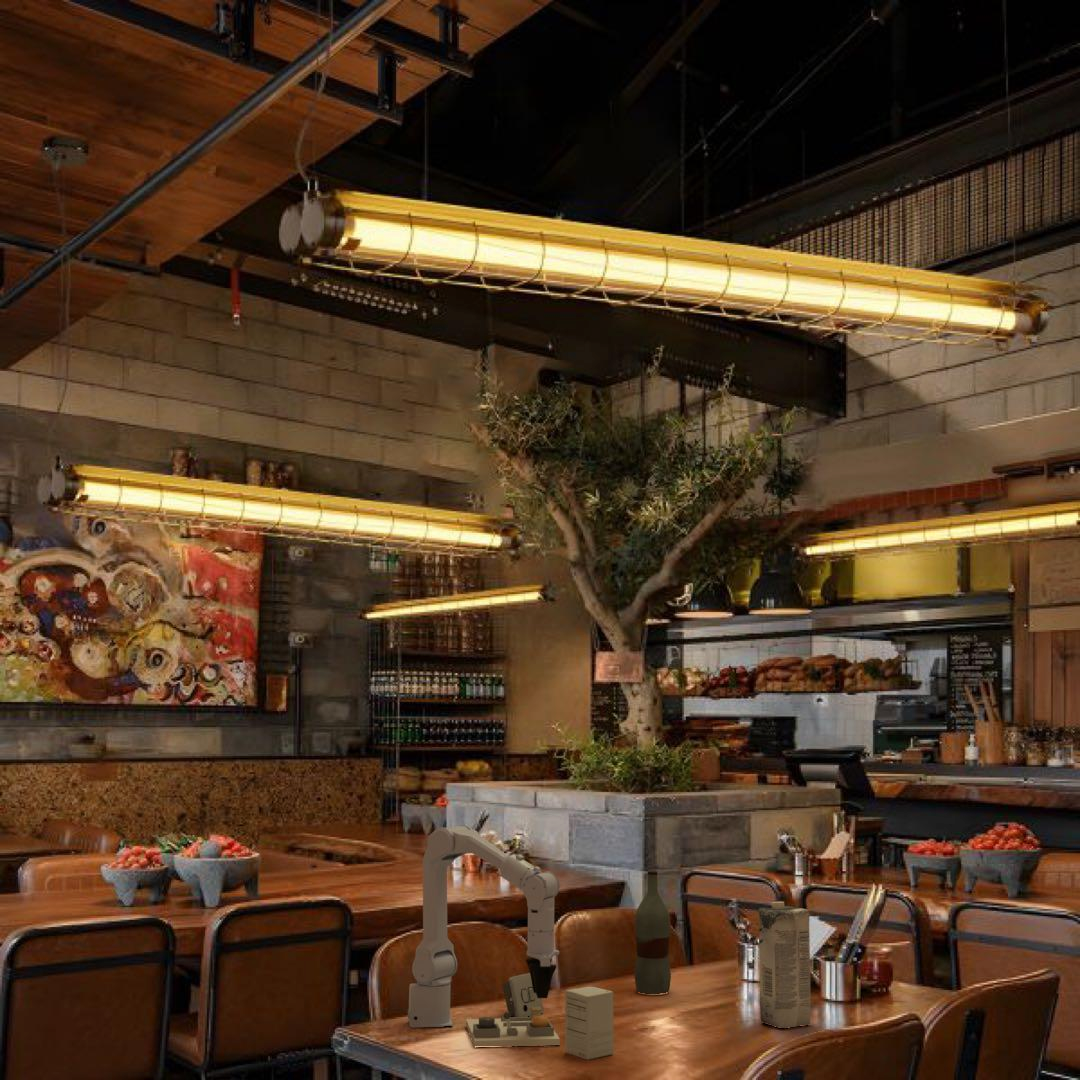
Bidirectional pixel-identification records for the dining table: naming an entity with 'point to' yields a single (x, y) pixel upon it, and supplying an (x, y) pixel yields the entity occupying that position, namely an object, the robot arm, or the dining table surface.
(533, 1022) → the orange button
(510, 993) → the electrical switch
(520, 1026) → the control panel
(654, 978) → the bottle
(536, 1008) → the brass slider
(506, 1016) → the toggle lever
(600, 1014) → the supplement box
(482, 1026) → the black button
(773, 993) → the juice carton
